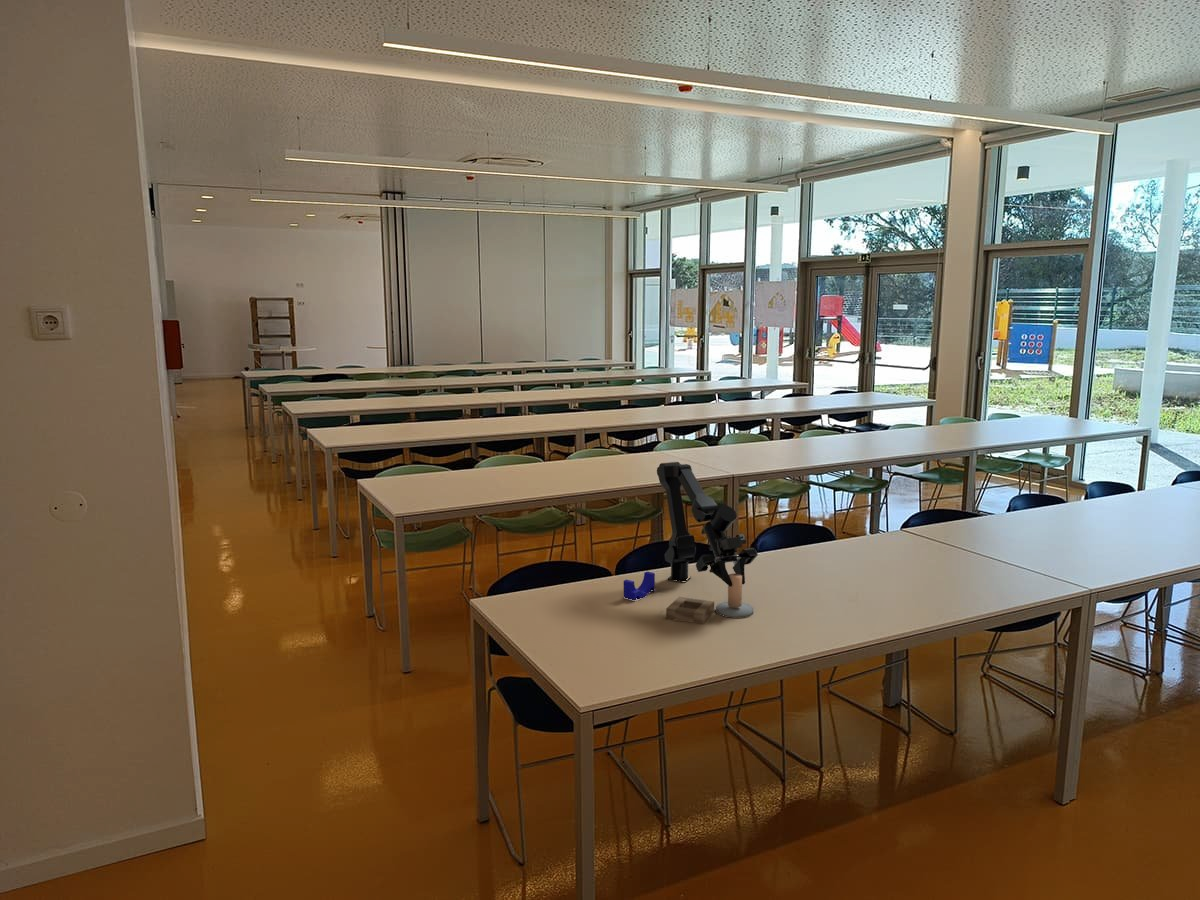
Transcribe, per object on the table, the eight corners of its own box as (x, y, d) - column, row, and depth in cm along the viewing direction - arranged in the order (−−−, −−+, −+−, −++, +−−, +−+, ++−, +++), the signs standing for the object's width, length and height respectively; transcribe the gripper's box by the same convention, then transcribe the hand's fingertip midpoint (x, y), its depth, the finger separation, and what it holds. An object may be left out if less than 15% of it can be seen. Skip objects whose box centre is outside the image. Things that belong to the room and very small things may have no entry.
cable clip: (634, 602, 250) (634, 583, 249) (623, 599, 252) (623, 580, 252) (658, 592, 259) (658, 574, 258) (647, 589, 261) (647, 571, 260)
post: (726, 602, 242) (727, 573, 241) (740, 602, 242) (740, 573, 241) (728, 607, 238) (729, 577, 237) (742, 607, 238) (743, 577, 237)
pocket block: (678, 606, 245) (679, 596, 245) (714, 611, 241) (714, 601, 240) (666, 618, 235) (666, 608, 235) (702, 623, 231) (702, 613, 230)
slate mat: (721, 602, 248) (722, 599, 248) (757, 607, 243) (757, 604, 243) (711, 614, 238) (711, 611, 238) (748, 620, 233) (748, 616, 233)
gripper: (701, 528, 236) (721, 576, 228) (755, 521, 244) (776, 567, 236) (687, 548, 245) (706, 594, 237) (739, 540, 252) (759, 585, 244)
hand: (737, 584), depth 238 cm, fingers closed on post, 4 cm apart
